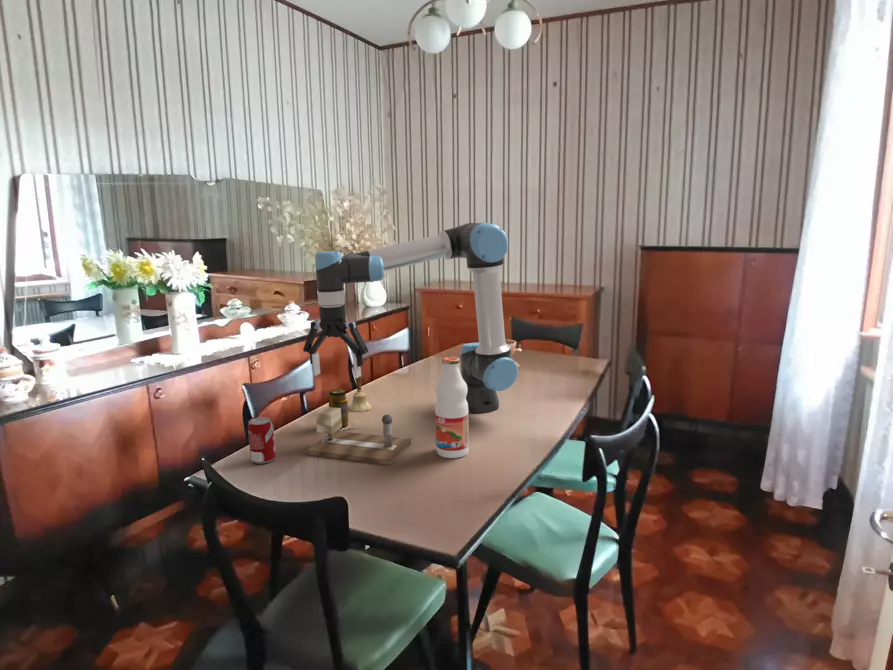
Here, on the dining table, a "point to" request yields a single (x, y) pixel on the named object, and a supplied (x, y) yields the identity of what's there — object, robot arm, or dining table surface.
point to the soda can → (261, 440)
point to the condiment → (340, 404)
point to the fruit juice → (451, 411)
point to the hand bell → (359, 399)
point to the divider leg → (328, 420)
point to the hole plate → (362, 445)
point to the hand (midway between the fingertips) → (337, 375)
